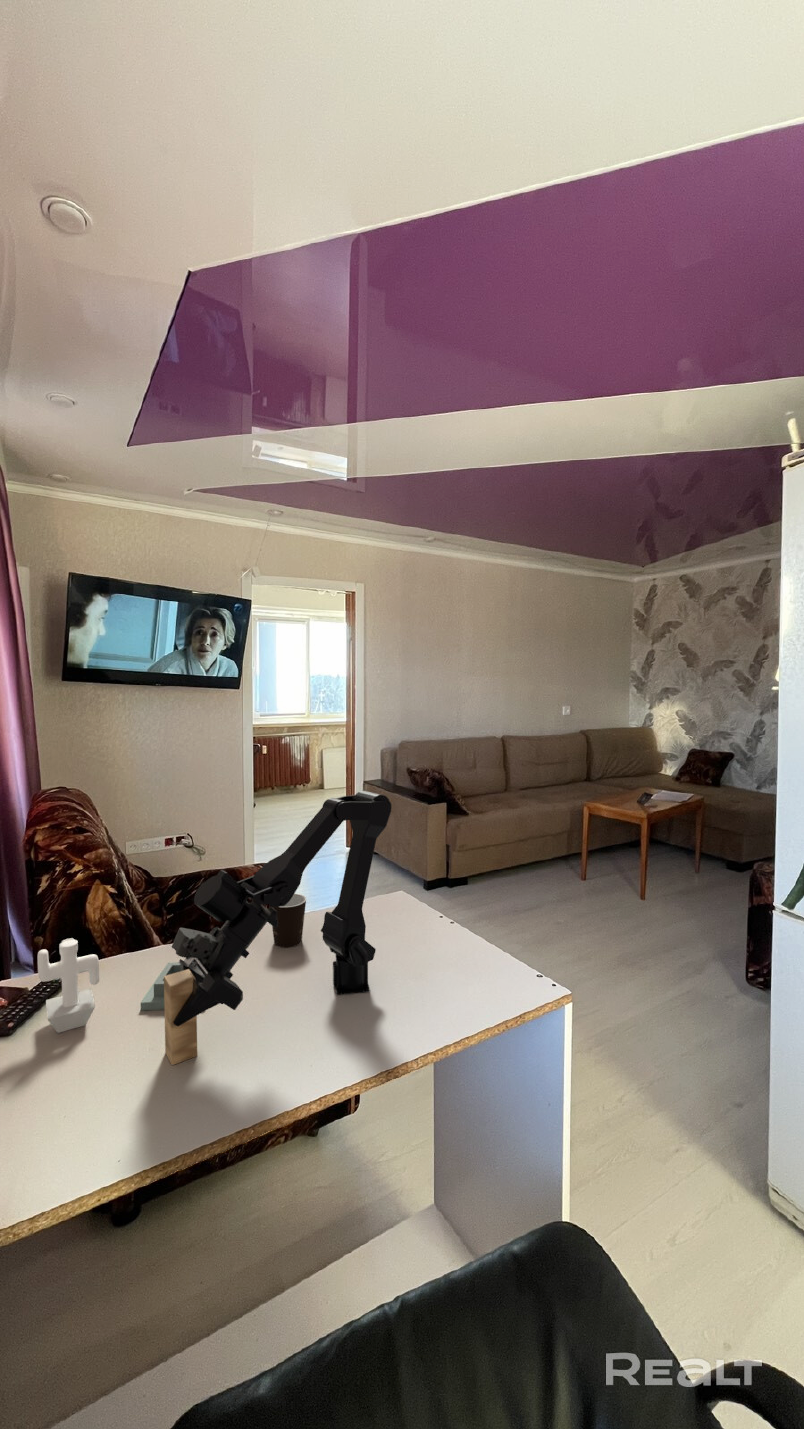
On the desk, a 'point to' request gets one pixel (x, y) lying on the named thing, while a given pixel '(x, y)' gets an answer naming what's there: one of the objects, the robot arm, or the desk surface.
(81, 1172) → the desk surface
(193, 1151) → the desk surface
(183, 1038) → the oak stick
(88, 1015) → the figurine
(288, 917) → the brown paper cup
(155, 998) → the socket holder
